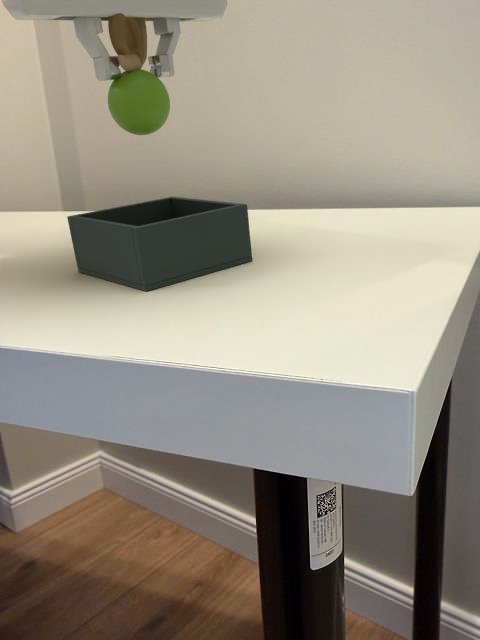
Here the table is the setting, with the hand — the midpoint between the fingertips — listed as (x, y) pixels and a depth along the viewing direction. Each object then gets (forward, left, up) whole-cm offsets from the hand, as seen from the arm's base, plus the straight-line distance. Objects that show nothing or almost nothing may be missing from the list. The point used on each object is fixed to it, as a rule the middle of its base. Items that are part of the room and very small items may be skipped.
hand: (136, 78), depth 58 cm
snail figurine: (0, 0, -5) cm, 5 cm away
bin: (0, 0, -17) cm, 17 cm away
